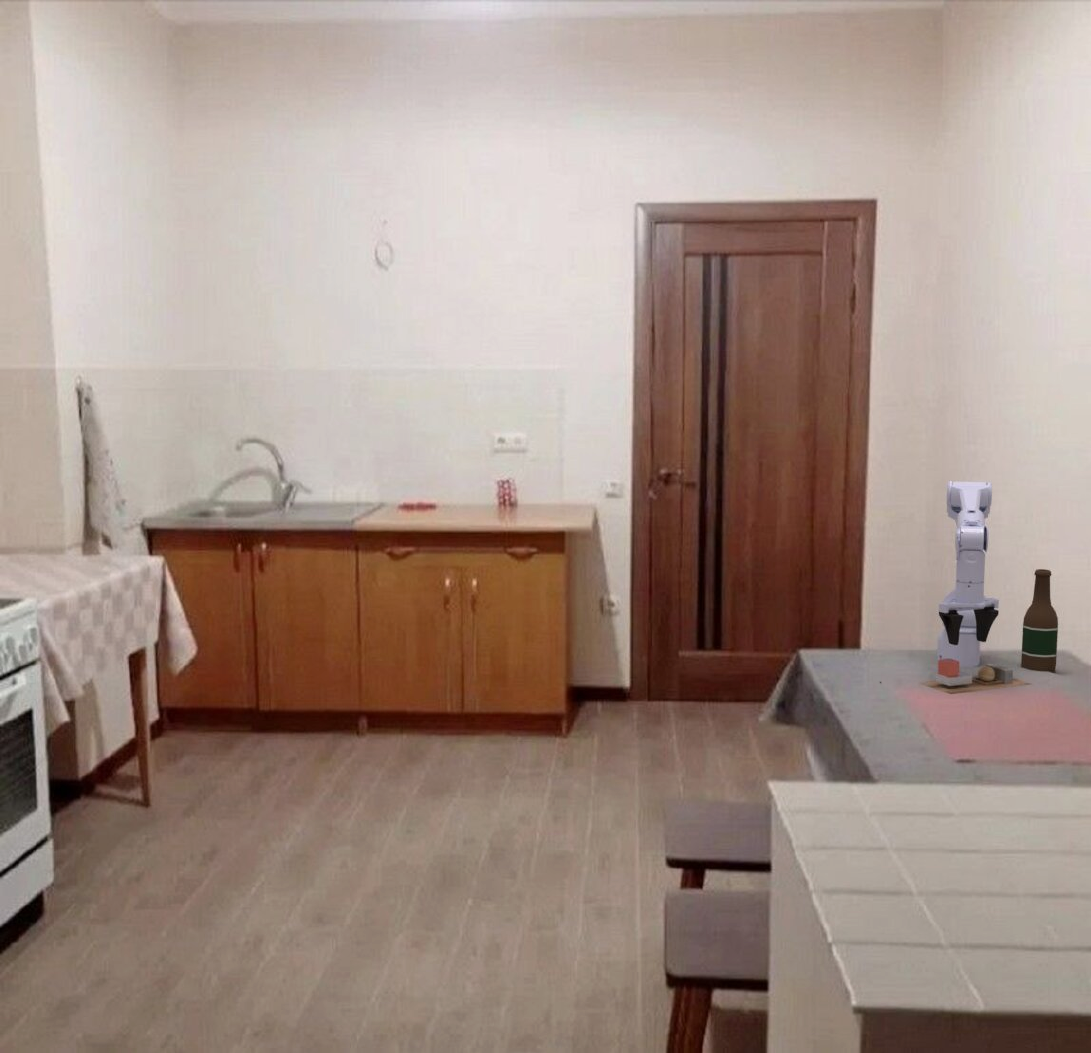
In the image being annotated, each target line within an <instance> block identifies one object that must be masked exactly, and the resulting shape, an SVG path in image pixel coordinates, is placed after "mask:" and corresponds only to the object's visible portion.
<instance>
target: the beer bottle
mask: <svg viewBox="0 0 1091 1053" xmlns="http://www.w3.org/2000/svg"><path fill="white" fill-rule="evenodd" d="M1034 576H1035V580H1034V587H1033V588H1034V589H1033V596H1032V597H1033V598H1032V602H1031V604H1030V606H1029V607H1028V608H1027V610H1026V612H1025V615H1024V617H1023V621H1022V636H1021V639H1022V640H1021V641H1022V642H1021V659H1020V663H1021V664H1020V668H1023V669H1026V670H1028V671H1036V672H1049V673H1051V674H1055V673H1056V668H1057V652H1058V637H1059V636H1058V633H1059V621H1058V620H1059V619H1058V618H1059V617H1058V616H1057V611H1056V610H1055V608H1054V607H1053V606H1052V602H1051V601H1052V600H1051V576H1052V571H1051V570H1050V569H1043V568H1039V569H1036V570H1034Z"/></svg>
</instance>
